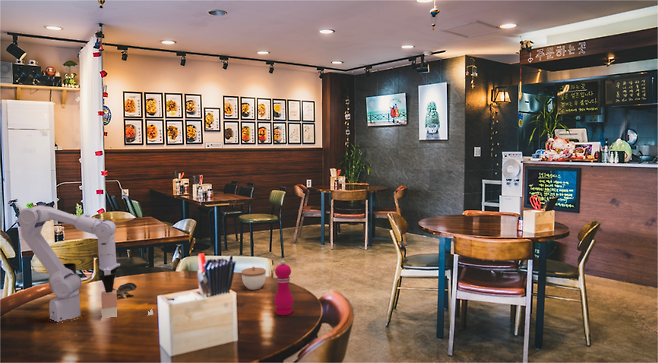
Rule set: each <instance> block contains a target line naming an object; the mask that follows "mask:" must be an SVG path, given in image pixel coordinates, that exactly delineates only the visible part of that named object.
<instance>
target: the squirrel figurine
mask: <svg viewBox="0 0 658 363" xmlns="http://www.w3.org/2000/svg"><path fill="white" fill-rule="evenodd" d="M137 287H138V286H137V284H135V283H133V282H125V283H124V284H121V285H119V287H118V288H117V289H115V288H114V287H113V290H117V298H118V297H121V298H124V299H127V296H132V294H131V293H130V292H132V291H136V289H137ZM126 295H127V296H126Z"/></svg>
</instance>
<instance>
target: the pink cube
mask: <svg viewBox="0 0 658 363" xmlns="http://www.w3.org/2000/svg"><path fill="white" fill-rule="evenodd" d="M117 290H118V289H116V290H113V291H112V292H109V293H106V291H104V290H103V291H101V294H100V297H101V298H100V299H101V308H102V309H105V308H112V307H117V308H118V297H117Z"/></svg>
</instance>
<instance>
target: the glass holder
mask: <svg viewBox="0 0 658 363" xmlns="http://www.w3.org/2000/svg"><path fill="white" fill-rule="evenodd" d="M62 264H63V265H64V266H65V268H67V269H70V270H72V272H73V273H74V274H76V275H78V273H77V266H76V265H77V264H76V263H74V262H73V263H72V262H67V263H66V262H65V263H62ZM50 280H51V276H50V275H49V276H48V285H49V289H50V291H51V293H53V294H54V292H53V287H52V285H51V284H50ZM56 297H57V296H56V295H55V298H56Z"/></svg>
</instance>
